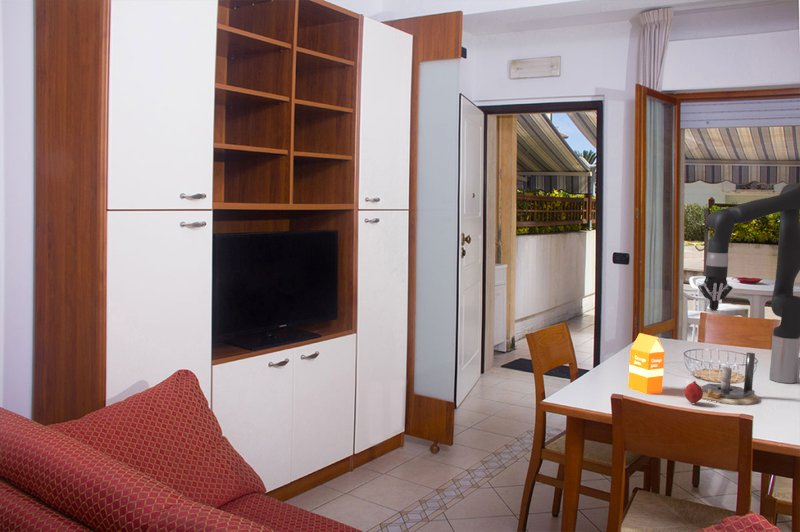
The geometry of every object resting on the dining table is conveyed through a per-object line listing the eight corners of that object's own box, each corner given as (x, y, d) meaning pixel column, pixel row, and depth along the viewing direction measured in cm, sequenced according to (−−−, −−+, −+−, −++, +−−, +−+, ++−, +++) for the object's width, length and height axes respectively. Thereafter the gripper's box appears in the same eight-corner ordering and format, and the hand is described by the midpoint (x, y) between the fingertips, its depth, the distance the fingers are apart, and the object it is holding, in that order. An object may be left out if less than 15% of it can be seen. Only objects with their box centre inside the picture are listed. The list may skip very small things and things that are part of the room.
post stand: (736, 387, 263) (738, 361, 262) (771, 404, 242) (773, 376, 241) (681, 387, 261) (683, 360, 260) (712, 405, 240) (714, 375, 239)
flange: (756, 393, 252) (759, 353, 250) (738, 402, 239) (741, 361, 237) (713, 384, 262) (716, 346, 260) (693, 393, 249) (696, 353, 248)
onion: (680, 401, 244) (681, 378, 243) (696, 401, 244) (698, 378, 243) (688, 406, 238) (690, 382, 237) (705, 406, 238) (706, 382, 237)
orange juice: (646, 394, 251) (650, 338, 249) (627, 387, 259) (631, 333, 257) (662, 391, 255) (666, 336, 253) (643, 385, 263) (647, 331, 261)
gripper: (705, 265, 264) (701, 311, 266) (739, 266, 265) (735, 312, 267) (695, 263, 271) (691, 308, 273) (728, 263, 273) (724, 309, 274)
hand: (713, 310), depth 270 cm, fingers closed
